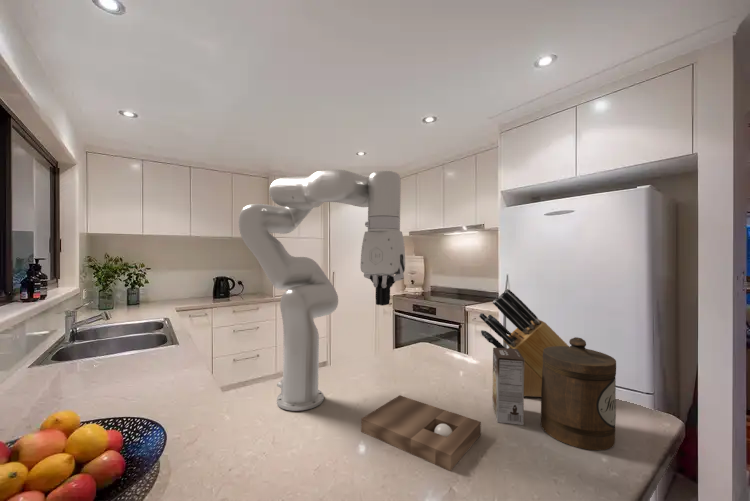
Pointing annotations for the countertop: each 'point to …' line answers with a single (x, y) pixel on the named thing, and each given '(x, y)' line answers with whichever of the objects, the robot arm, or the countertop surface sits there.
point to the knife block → (523, 338)
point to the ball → (443, 430)
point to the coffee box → (508, 385)
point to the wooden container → (579, 396)
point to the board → (422, 430)
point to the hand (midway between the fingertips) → (382, 304)
